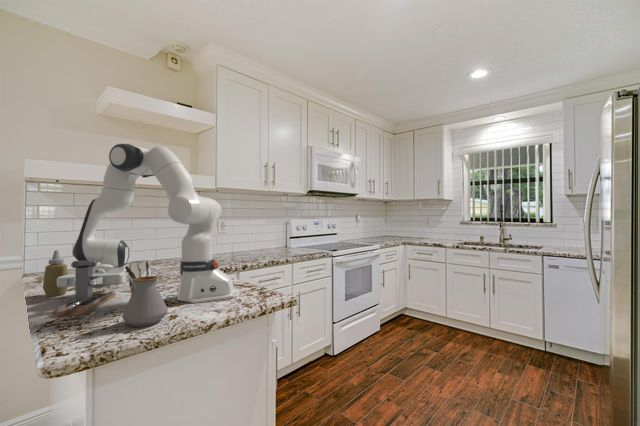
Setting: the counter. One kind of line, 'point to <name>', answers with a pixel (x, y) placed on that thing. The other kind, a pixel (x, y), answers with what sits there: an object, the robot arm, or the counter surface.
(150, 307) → the coffee pot
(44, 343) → the counter surface
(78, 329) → the counter surface
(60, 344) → the counter surface
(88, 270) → the handle
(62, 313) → the track
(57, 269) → the squeeze bottle
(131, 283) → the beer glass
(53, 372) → the counter surface
